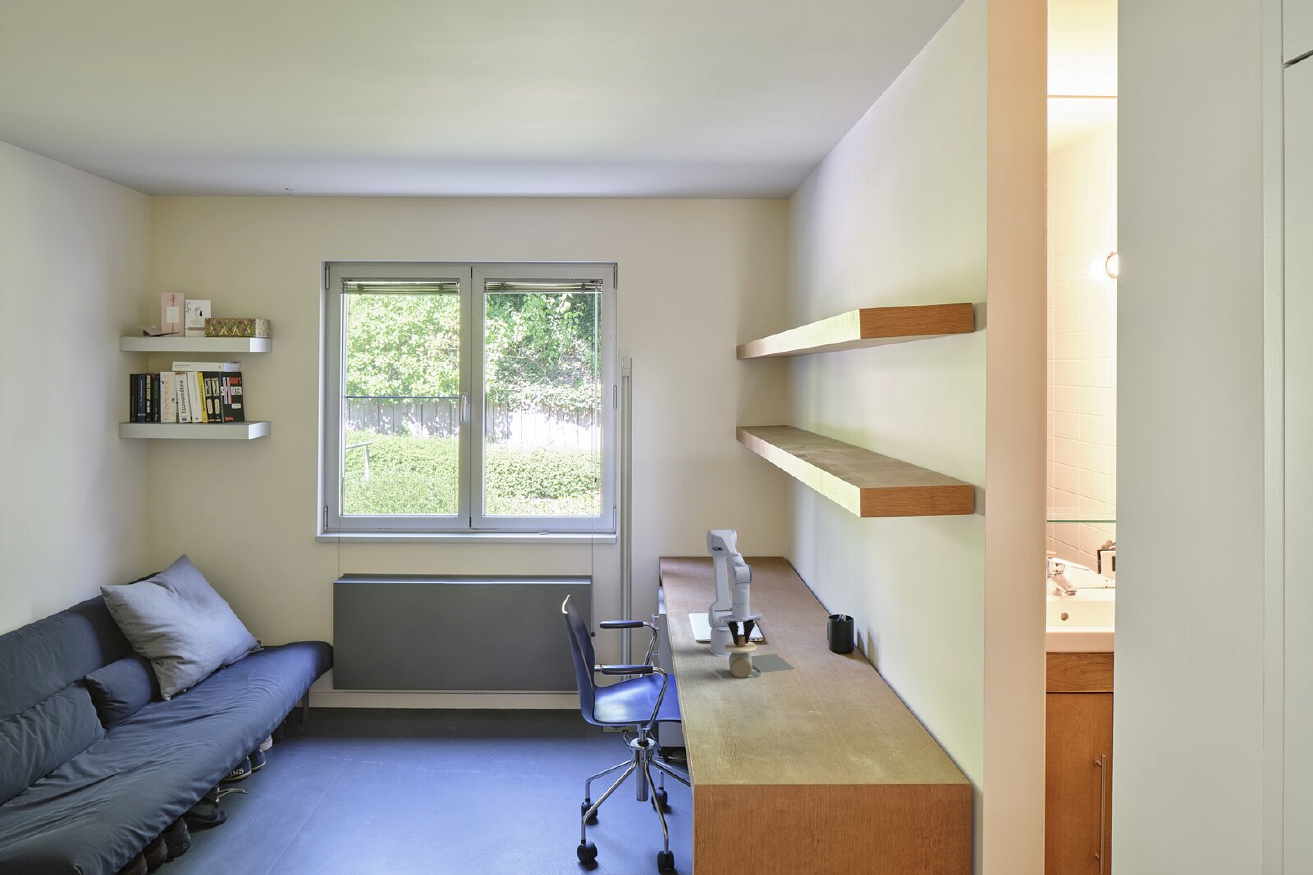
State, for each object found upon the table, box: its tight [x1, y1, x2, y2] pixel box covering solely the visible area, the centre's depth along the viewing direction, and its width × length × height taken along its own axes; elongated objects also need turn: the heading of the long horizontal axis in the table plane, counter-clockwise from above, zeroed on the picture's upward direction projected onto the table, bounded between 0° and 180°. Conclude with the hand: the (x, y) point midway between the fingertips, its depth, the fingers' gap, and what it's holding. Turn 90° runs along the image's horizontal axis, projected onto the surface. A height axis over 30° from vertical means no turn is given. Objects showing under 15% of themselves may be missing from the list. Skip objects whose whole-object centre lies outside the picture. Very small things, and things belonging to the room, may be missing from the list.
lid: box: [725, 633, 758, 653], centre depth 268 cm, size 10×10×4 cm
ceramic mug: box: [728, 653, 763, 679], centre depth 268 cm, size 11×8×8 cm
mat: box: [751, 653, 796, 673], centre depth 279 cm, size 16×12×1 cm
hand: (740, 643), depth 269 cm, fingers closed on lid, 3 cm apart
